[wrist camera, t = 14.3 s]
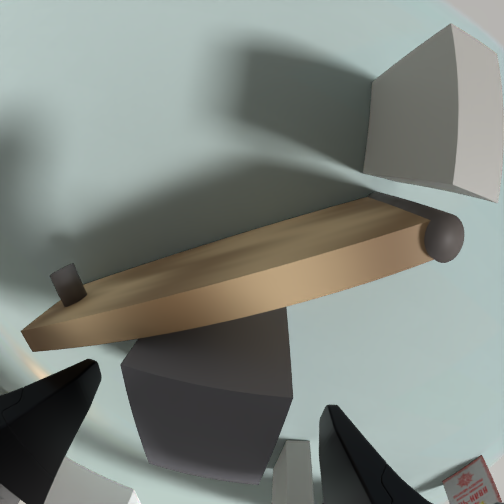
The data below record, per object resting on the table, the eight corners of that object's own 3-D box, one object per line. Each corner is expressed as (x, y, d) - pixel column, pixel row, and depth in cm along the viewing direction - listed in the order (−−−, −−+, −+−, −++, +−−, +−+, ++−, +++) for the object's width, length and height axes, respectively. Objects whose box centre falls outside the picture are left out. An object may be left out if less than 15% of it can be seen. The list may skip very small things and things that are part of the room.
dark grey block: (264, 389, 14) (258, 484, 8) (183, 376, 14) (148, 463, 8) (285, 294, 12) (293, 397, 6) (183, 278, 12) (120, 364, 6)
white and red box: (483, 458, 18) (502, 501, 9) (446, 483, 20) (460, 528, 10) (481, 454, 18) (501, 501, 8) (442, 481, 19) (457, 529, 10)
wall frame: (292, 469, 16) (293, 530, 11) (273, 469, 16) (270, 530, 11) (405, 93, 9) (496, 53, 3) (372, 82, 9) (450, 23, 3)
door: (88, 304, 12) (31, 356, 8) (68, 261, 12) (2, 302, 7) (392, 217, 10) (465, 254, 5) (378, 157, 9) (453, 155, 5)
